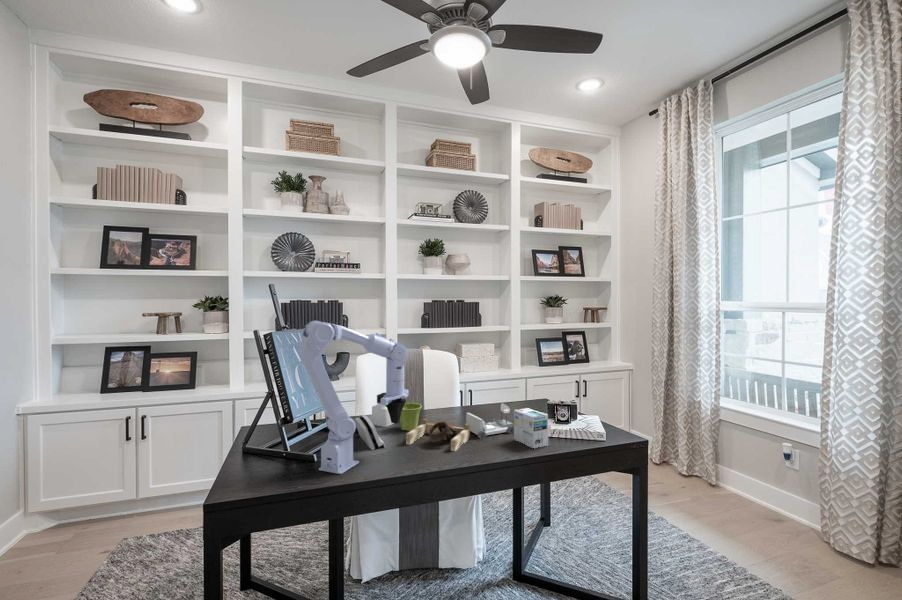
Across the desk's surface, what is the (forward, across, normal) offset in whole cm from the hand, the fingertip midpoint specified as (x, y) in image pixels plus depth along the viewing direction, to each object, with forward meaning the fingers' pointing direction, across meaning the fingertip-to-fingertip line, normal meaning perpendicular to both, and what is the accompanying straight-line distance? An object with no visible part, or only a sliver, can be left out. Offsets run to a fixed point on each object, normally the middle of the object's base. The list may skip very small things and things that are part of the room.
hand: (395, 422), depth 143 cm
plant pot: (+10, +26, +8) cm, 29 cm away
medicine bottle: (+10, +28, +20) cm, 36 cm away
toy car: (+11, +35, -21) cm, 42 cm away
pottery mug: (+10, +17, -10) cm, 22 cm away
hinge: (+11, +7, +14) cm, 19 cm away
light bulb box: (+10, +28, -38) cm, 48 cm away
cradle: (+10, +17, -8) cm, 21 cm away
